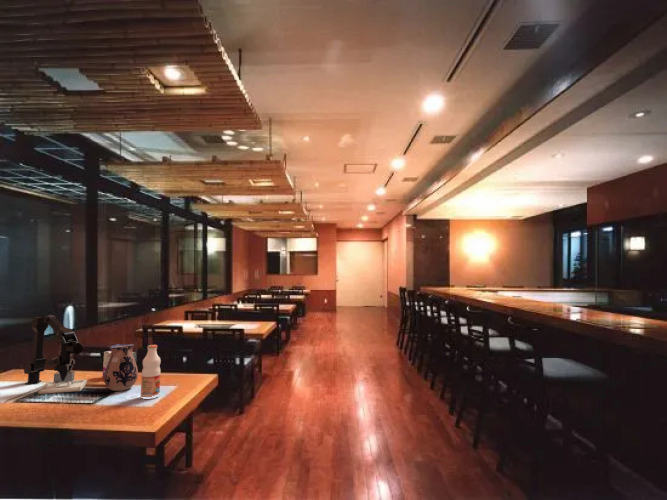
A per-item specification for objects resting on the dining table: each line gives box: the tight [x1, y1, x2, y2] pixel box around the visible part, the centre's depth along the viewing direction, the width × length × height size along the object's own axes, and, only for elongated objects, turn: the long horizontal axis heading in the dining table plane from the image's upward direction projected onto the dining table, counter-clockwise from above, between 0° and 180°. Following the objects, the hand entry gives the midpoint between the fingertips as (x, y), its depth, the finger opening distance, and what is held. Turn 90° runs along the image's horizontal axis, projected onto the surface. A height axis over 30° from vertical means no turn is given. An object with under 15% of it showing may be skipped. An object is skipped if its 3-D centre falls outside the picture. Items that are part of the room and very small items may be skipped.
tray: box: [37, 379, 88, 395], centre depth 231 cm, size 17×20×4 cm
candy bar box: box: [102, 350, 111, 378], centre depth 257 cm, size 11×5×16 cm, turn 68°
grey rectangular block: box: [52, 370, 76, 383], centre depth 232 cm, size 5×9×5 cm, turn 109°
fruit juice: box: [140, 344, 162, 398], centre depth 219 cm, size 9×9×28 cm
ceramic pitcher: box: [103, 343, 139, 392], centre depth 234 cm, size 18×21×25 cm
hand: (64, 379), depth 232 cm, fingers closed on grey rectangular block, 5 cm apart
